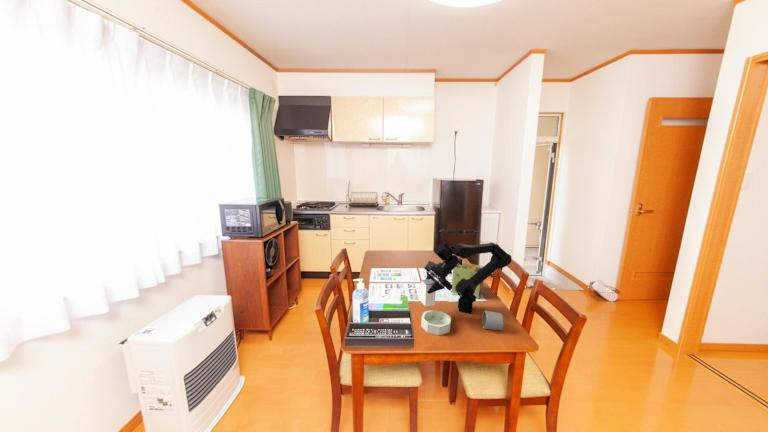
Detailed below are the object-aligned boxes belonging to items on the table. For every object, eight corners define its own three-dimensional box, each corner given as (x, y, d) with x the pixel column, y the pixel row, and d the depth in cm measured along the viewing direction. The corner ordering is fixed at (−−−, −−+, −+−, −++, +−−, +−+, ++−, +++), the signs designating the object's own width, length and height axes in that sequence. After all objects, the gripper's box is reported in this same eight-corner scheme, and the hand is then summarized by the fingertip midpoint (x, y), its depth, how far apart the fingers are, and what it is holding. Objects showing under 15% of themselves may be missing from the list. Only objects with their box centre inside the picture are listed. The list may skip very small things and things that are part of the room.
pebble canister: (430, 299, 129) (431, 278, 127) (434, 304, 124) (435, 283, 122) (420, 301, 128) (421, 279, 126) (425, 306, 123) (426, 284, 121)
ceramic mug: (504, 334, 114) (506, 317, 113) (484, 331, 116) (486, 315, 114) (498, 320, 125) (499, 305, 123) (480, 318, 126) (481, 303, 125)
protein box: (479, 299, 144) (481, 272, 141) (451, 292, 152) (452, 266, 149) (483, 291, 152) (485, 266, 149) (456, 285, 160) (458, 260, 157)
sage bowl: (451, 320, 124) (451, 313, 123) (448, 337, 112) (449, 328, 111) (424, 315, 128) (425, 308, 127) (419, 330, 116) (419, 322, 115)
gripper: (428, 249, 131) (407, 272, 130) (447, 262, 114) (423, 289, 113) (441, 262, 135) (421, 285, 134) (462, 277, 118) (439, 304, 117)
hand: (425, 290), depth 124 cm, fingers closed on pebble canister, 5 cm apart
